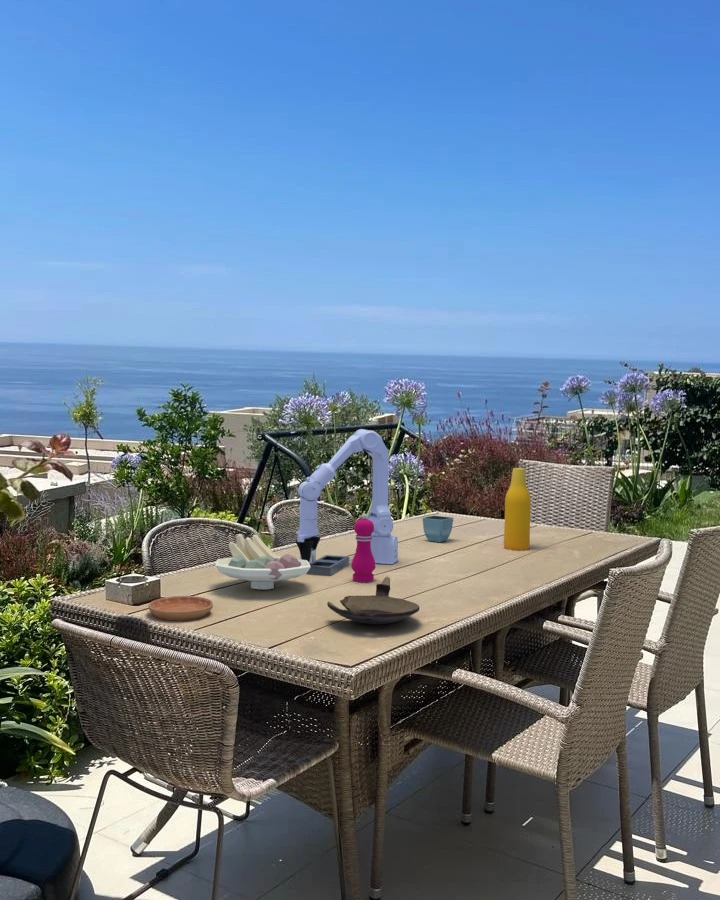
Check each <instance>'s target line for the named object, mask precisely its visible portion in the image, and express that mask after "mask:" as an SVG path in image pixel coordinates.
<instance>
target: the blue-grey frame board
mask: <svg viewBox="0 0 720 900" xmlns="http://www.w3.org/2000/svg"><path fill="white" fill-rule="evenodd" d="M349 565H350V556H344V555H330V554H325V555H323V556H320V557H319V558H317V559H316V561H314V562H312V563H310V566H311V567H310V569H309V571H308V572H307V573H306V574H305V575H314V576H315V575H316V576H324V577H325V576H327V577H331V576H332V575H334V574H336V573H337V572H340V571H341V570H342V569H344V568H345V567H347V566H349Z"/></svg>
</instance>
